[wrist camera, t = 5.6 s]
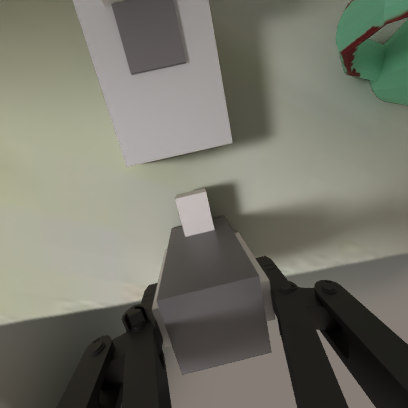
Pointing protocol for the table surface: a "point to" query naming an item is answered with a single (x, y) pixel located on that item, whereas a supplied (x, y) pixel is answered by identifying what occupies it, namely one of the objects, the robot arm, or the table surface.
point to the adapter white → (111, 2)
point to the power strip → (158, 75)
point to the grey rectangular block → (210, 291)
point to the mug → (376, 47)
